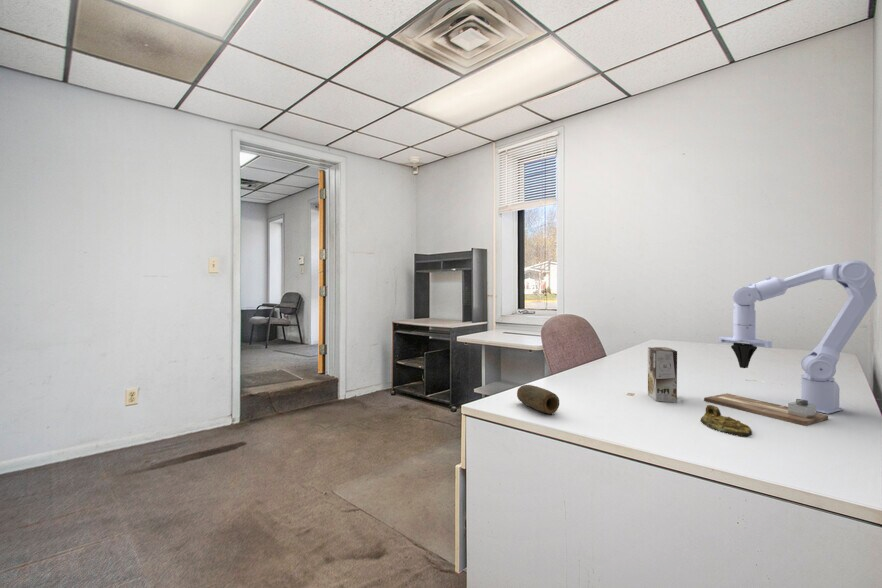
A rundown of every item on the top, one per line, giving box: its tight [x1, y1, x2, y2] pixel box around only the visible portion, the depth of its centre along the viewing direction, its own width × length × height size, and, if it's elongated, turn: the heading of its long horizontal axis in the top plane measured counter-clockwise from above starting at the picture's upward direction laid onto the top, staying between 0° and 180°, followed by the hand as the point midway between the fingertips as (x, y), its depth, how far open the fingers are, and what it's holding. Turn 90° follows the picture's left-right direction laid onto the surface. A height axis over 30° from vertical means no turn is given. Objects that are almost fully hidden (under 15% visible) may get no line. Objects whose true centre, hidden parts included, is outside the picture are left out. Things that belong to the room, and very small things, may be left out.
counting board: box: [703, 393, 829, 426], centre depth 120 cm, size 12×26×1 cm, turn 25°
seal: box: [700, 404, 752, 437], centre depth 106 cm, size 9×5×15 cm
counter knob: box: [787, 398, 817, 418], centre depth 112 cm, size 5×4×4 cm
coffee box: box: [647, 346, 678, 403], centre depth 133 cm, size 9×6×16 cm
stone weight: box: [516, 384, 560, 415], centre depth 122 cm, size 15×7×7 cm, turn 25°
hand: (743, 367), depth 130 cm, fingers closed
